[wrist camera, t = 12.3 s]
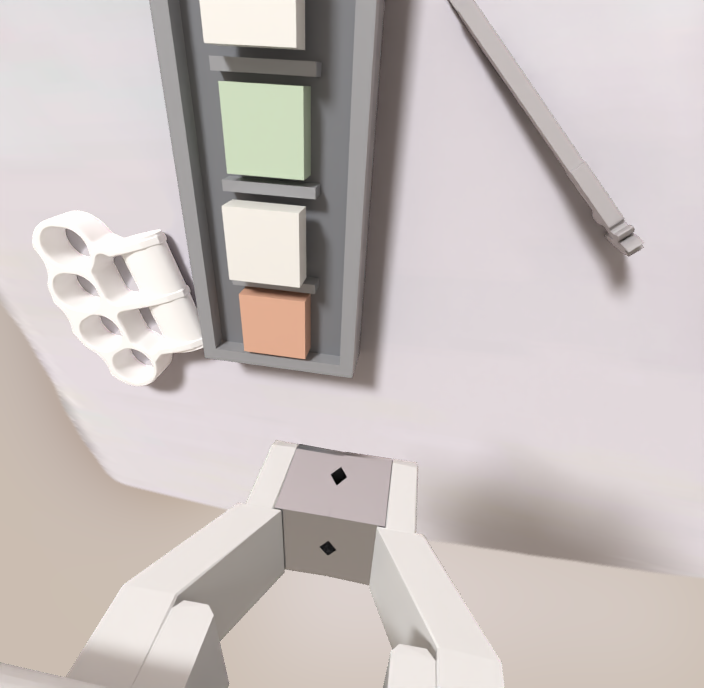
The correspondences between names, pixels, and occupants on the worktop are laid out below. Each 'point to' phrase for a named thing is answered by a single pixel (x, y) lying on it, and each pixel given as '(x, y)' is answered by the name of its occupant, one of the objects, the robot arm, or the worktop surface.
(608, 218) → the caliper
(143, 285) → the knuckle duster
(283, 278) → the off-white square tile
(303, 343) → the block
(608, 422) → the worktop surface
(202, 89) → the grey divided tray
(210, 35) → the key cream end
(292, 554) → the robot arm
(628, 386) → the worktop surface
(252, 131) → the key sage
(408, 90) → the worktop surface
